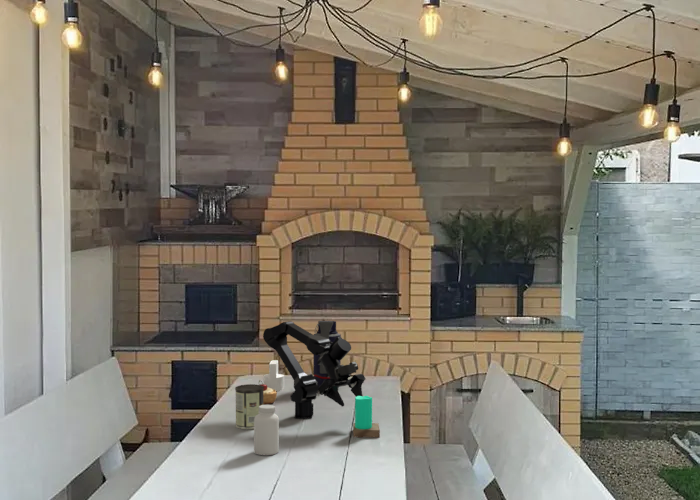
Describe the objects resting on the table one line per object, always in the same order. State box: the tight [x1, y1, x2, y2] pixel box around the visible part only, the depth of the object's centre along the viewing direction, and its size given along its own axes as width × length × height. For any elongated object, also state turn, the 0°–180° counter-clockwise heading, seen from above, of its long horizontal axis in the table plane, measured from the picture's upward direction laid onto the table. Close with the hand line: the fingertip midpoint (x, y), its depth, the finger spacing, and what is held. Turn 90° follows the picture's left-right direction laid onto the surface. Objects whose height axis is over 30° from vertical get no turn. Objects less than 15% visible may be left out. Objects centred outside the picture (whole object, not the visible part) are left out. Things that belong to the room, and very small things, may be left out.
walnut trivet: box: [352, 422, 381, 438], centre depth 281 cm, size 9×9×2 cm
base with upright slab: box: [262, 359, 285, 392], centre depth 349 cm, size 9×9×12 cm
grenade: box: [312, 320, 342, 391], centre depth 350 cm, size 14×12×30 cm
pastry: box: [258, 379, 278, 405], centre depth 325 cm, size 12×12×9 cm
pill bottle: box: [253, 404, 280, 456], centre depth 258 cm, size 8×8×15 cm
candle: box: [354, 395, 373, 429], centre depth 280 cm, size 6×6×12 cm
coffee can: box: [234, 383, 264, 430], centre depth 290 cm, size 10×10×14 cm
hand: (353, 403), depth 285 cm, fingers open, 9 cm apart
